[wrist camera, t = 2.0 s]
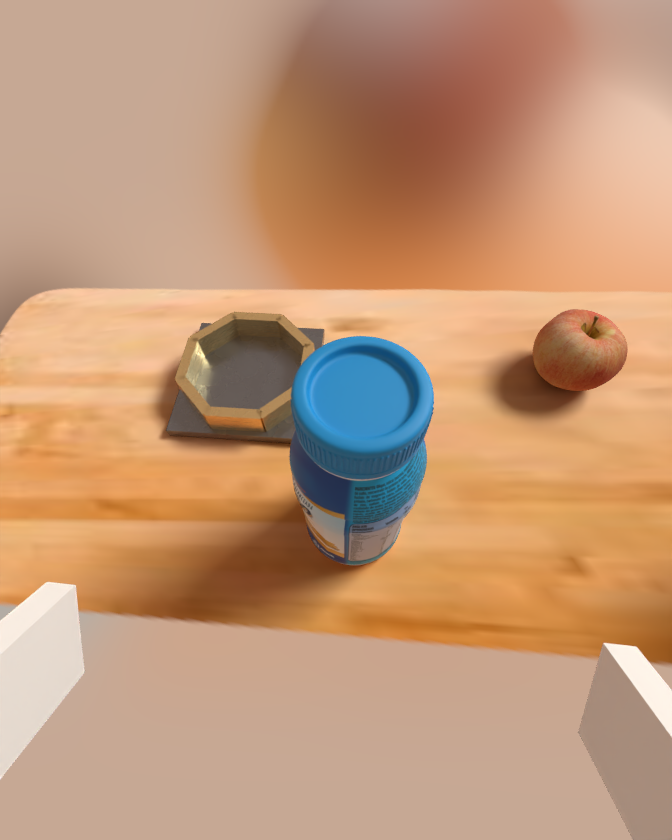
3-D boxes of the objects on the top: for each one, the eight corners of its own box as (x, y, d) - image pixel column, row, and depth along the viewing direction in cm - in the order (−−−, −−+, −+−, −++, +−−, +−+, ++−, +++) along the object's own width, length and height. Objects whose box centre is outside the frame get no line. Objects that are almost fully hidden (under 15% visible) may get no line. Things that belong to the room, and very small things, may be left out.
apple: (508, 350, 45) (538, 295, 38) (576, 339, 46) (617, 282, 39) (540, 411, 41) (580, 361, 34) (614, 398, 42) (667, 346, 35)
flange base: (324, 335, 47) (323, 312, 44) (310, 444, 40) (307, 426, 37) (204, 329, 48) (194, 306, 45) (169, 435, 40) (155, 417, 37)
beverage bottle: (394, 578, 33) (448, 491, 16) (294, 556, 34) (245, 452, 17) (407, 483, 38) (461, 333, 20) (317, 466, 39) (296, 308, 21)
